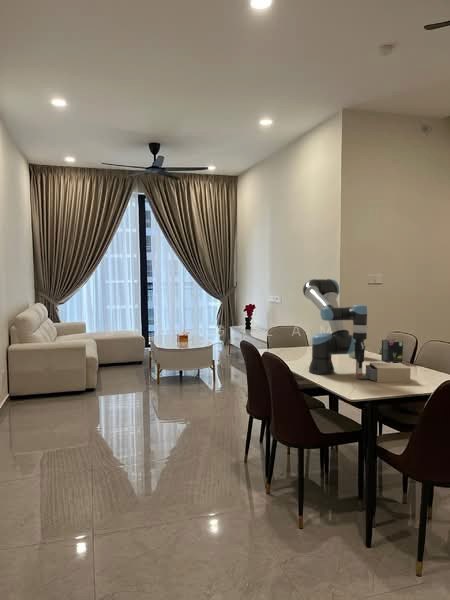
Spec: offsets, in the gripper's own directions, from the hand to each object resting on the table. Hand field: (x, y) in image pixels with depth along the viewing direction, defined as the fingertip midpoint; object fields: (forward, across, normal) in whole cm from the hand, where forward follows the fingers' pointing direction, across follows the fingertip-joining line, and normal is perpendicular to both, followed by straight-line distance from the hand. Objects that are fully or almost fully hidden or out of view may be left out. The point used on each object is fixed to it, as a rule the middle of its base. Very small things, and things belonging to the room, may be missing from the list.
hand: (359, 373), depth 252 cm
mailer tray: (+3, 0, -10) cm, 11 cm away
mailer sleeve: (+3, 0, -17) cm, 17 cm away
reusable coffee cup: (+4, +69, -17) cm, 71 cm away
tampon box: (+4, +53, -38) cm, 65 cm away
